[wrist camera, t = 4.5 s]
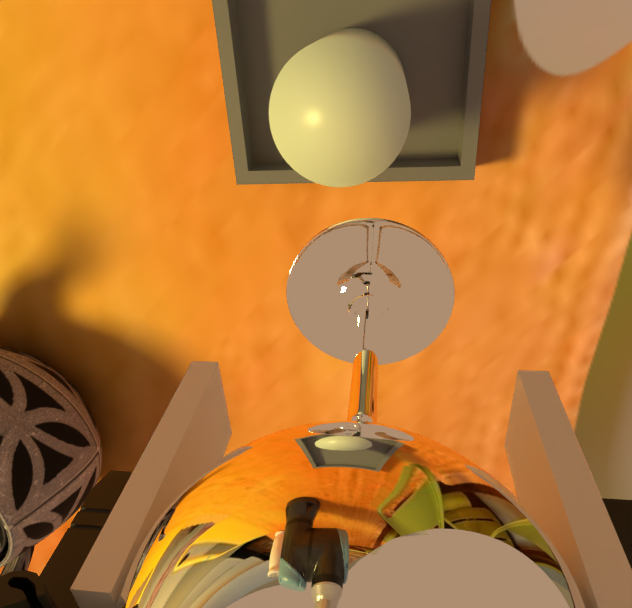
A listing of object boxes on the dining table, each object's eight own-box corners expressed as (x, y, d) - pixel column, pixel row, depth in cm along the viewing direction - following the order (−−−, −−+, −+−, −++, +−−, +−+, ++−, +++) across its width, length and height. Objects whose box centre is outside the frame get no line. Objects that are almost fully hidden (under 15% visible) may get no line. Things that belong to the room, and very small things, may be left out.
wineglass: (456, 163, 17) (1097, 1787, 2) (496, 359, 21) (802, 1407, 5) (232, 227, 19) (-402, 1179, 4) (305, 393, 23) (134, 1212, 7)
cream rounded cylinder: (295, 31, 28) (261, 42, 21) (406, 24, 28) (413, 32, 20) (303, 142, 31) (276, 188, 24) (403, 139, 31) (408, 185, 23)
